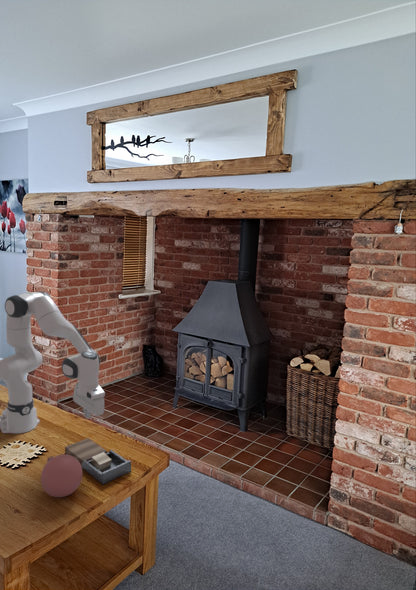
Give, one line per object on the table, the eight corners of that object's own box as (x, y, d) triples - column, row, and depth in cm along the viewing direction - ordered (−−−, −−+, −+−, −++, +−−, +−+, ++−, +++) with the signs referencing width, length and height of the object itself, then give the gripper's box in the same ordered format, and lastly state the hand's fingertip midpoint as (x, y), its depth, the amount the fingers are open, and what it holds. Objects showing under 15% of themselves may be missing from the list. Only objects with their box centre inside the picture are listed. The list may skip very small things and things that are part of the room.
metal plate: (65, 452, 197) (65, 446, 196) (88, 443, 205) (88, 438, 205) (83, 467, 186) (83, 460, 186) (107, 457, 195) (107, 451, 194)
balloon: (71, 472, 182) (71, 438, 180) (88, 497, 166) (88, 460, 164) (33, 483, 173) (32, 448, 171) (47, 511, 157) (46, 473, 155)
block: (91, 462, 187) (92, 456, 186) (103, 457, 191) (103, 452, 190) (98, 470, 183) (99, 464, 182) (110, 465, 187) (111, 459, 187)
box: (82, 468, 185) (82, 458, 184) (109, 456, 195) (109, 446, 194) (103, 485, 174) (103, 473, 173) (130, 471, 184) (131, 461, 184)
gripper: (69, 382, 194) (69, 411, 196) (94, 397, 180) (93, 428, 182) (82, 379, 198) (81, 407, 201) (107, 394, 185) (106, 423, 187)
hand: (87, 417), depth 191 cm, fingers closed
